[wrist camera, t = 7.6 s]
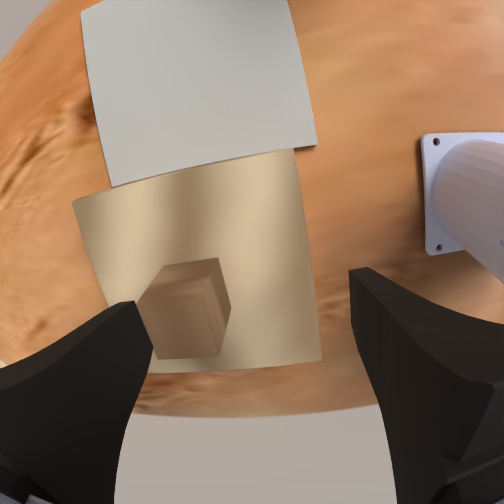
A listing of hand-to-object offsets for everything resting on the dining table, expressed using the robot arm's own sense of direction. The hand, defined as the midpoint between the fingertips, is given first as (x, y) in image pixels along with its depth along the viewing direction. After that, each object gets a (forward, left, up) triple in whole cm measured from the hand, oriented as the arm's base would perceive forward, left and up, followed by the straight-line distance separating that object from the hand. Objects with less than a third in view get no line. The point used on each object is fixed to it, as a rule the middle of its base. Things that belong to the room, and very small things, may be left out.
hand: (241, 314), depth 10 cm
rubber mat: (+2, -10, -10) cm, 15 cm away
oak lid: (+3, +2, -7) cm, 8 cm away
